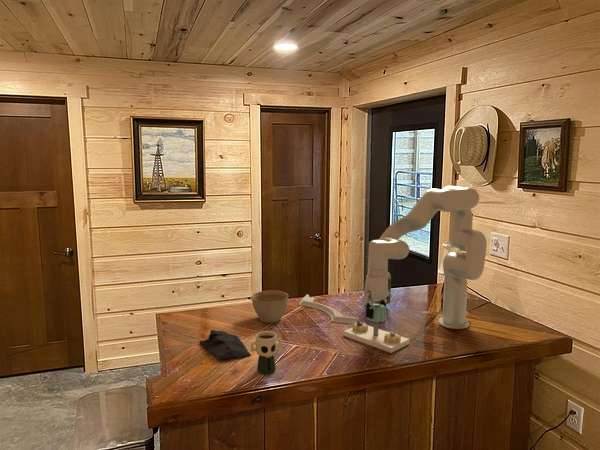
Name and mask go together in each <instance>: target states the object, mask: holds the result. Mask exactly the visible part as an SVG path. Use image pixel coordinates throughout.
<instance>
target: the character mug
mask: <svg viewBox="0 0 600 450" xmlns="http://www.w3.org/2000/svg"><path fill="white" fill-rule="evenodd" d="M254 346H255V348H254ZM280 347H282V338H281V337H277V334H276V332H275V331H266V330H265V331H260V332H257V333H256V334H255V341H252V342H251V343H250V351H251V352H253V353H254V352H255V353H256V355H258V360H257V372H258V373H259V374H263V375H269V372H270V374H272V373H275V371H276V360H275V355H276V353H277V351H278V348H280Z"/></svg>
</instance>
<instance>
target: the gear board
mask: <svg viewBox="0 0 600 450" xmlns="http://www.w3.org/2000/svg"><path fill="white" fill-rule="evenodd" d="M379 325H380V322H373V326H372V325H369V324H366V322H363V321H360V320H359V321H357V323H354V324H352V327H351V328H350V327H349V328H347V329H346V330H345V329H344V331H343V336H344V337H346V338H349V339H352V340H355V341H357V342H360V343H363V344H365V345H368V346H370V347H374V348H377V349H379V350H382V351H384V352H387V353H389V354H392V353H394V352H397V351H398V350H400V349H402V348H404V347H405V346H407V345H409V344H410V338H408V337H404V336H401V334H398V333H396V332H392V331H390V332H389V331H386V330H382V329H380V328H379Z"/></svg>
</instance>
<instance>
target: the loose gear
mask: <svg viewBox="0 0 600 450" xmlns="http://www.w3.org/2000/svg"><path fill="white" fill-rule="evenodd" d="M369 304H370V303H369ZM370 305H371V304H370ZM372 309H373V319H370V318H367V317H366V320H367V321H369V322H372V323H374V322H379V323H384V322H385V321H387V305H386V306H385V305H382V304H376V303H374V305H373V308H372Z"/></svg>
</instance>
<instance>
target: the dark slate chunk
mask: <svg viewBox="0 0 600 450" xmlns="http://www.w3.org/2000/svg"><path fill="white" fill-rule="evenodd" d="M199 343H200V344H202V346H203V347H204V348H205V349H206V350H207V351H208V352H210V353H211V355H213V356H214V357H215V358H216V359H218V360H220V361H221V360H228V359H229V360H230V359H243V358H249V357H250V356H252V355H251V353H250V352H249V351H248V348H247V347H246V345H244V343H243V342H242V340H241V339H240V337H239V336H238V335H237V334H231V333H228V332H227V331H224V330H215V329H211V330H210V333H209V335H208V339H204V340H200V342H199Z"/></svg>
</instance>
